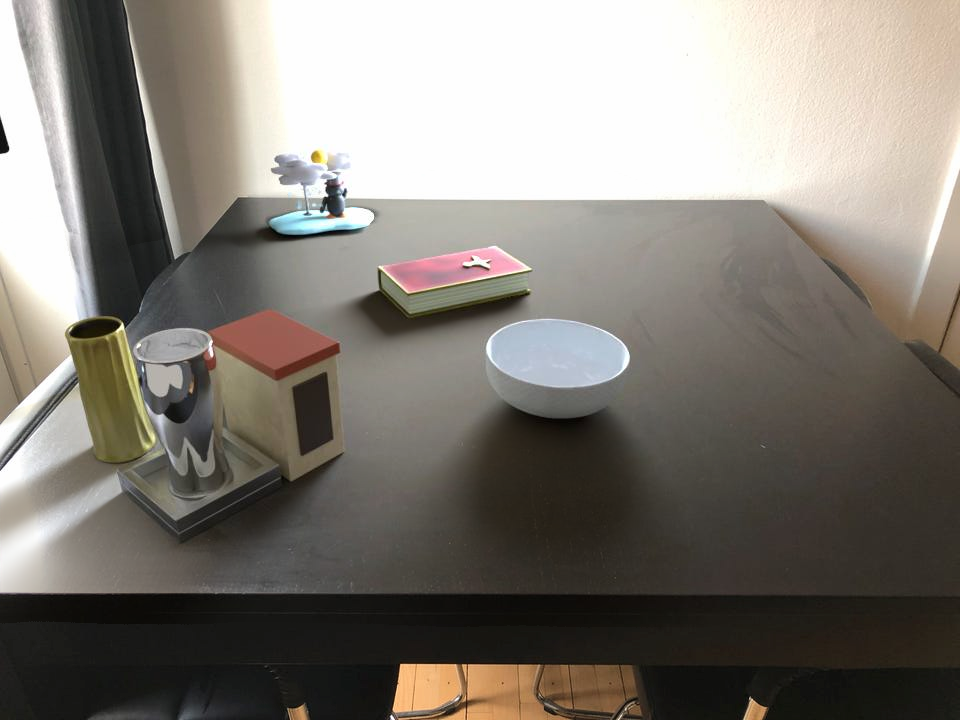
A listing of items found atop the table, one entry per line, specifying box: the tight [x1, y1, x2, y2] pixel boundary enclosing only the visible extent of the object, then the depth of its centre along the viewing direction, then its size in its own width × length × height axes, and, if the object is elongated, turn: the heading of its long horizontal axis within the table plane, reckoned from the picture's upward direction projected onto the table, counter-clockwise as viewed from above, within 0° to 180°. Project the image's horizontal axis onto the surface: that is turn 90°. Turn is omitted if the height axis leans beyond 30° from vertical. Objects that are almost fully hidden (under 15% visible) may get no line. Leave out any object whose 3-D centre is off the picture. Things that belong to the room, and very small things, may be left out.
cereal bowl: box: [484, 318, 631, 420], centre depth 87 cm, size 17×17×7 cm
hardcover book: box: [377, 245, 533, 319], centre depth 116 cm, size 12×21×4 cm, turn 118°
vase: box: [64, 315, 156, 464], centre depth 76 cm, size 6×6×14 cm
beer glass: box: [132, 327, 233, 498], centre depth 69 cm, size 7×7×15 cm
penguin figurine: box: [268, 149, 375, 236], centre depth 139 cm, size 20×11×15 cm, turn 108°
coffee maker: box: [116, 308, 346, 544], centre depth 73 cm, size 19×12×13 cm, turn 139°
